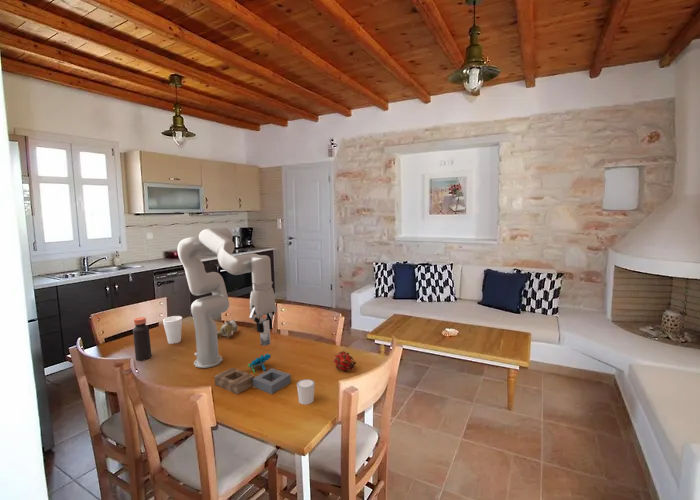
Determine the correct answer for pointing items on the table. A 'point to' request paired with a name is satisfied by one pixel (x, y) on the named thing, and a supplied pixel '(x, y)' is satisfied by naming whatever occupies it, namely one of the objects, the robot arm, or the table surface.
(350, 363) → the dragon fruit
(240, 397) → the table surface
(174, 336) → the foam cup
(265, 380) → the socket block
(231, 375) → the brown rectangular frame
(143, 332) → the bottle
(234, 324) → the ceramic sculpture
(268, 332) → the axle
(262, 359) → the gear
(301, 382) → the white fluted cup
